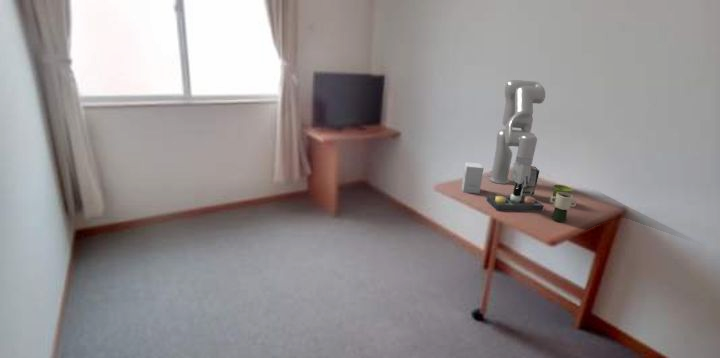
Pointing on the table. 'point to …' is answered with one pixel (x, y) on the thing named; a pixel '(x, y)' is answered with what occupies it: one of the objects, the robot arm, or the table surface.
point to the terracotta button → (529, 199)
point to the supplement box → (472, 177)
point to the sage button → (515, 198)
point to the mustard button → (500, 199)
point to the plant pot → (561, 189)
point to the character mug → (562, 205)
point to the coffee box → (531, 183)
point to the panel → (515, 205)
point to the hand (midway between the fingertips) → (516, 195)
